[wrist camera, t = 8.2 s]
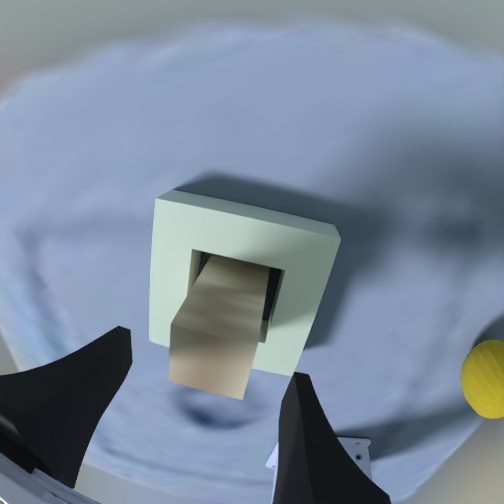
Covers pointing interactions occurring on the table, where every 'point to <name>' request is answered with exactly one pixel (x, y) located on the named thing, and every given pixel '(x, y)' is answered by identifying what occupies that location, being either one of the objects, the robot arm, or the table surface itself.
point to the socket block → (247, 249)
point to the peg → (219, 327)
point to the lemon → (485, 378)
